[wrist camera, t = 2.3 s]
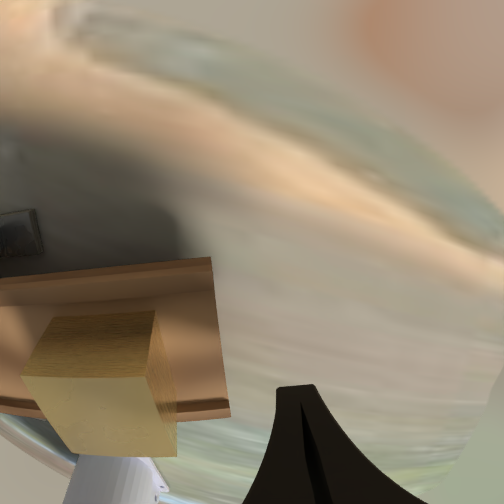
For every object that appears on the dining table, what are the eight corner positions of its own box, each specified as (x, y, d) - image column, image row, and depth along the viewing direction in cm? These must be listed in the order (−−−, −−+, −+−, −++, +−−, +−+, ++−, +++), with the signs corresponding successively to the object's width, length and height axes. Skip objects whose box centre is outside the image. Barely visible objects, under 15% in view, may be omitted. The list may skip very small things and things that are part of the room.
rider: (176, 392, 14) (176, 456, 11) (87, 394, 14) (72, 453, 10) (155, 310, 13) (145, 376, 9) (53, 316, 12) (19, 375, 8)
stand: (96, 392, 19) (78, 433, 15) (19, 379, 19) (-2, 411, 15) (34, 208, 14) (-12, 233, 10) (-42, 223, 14) (-80, 245, 10)
